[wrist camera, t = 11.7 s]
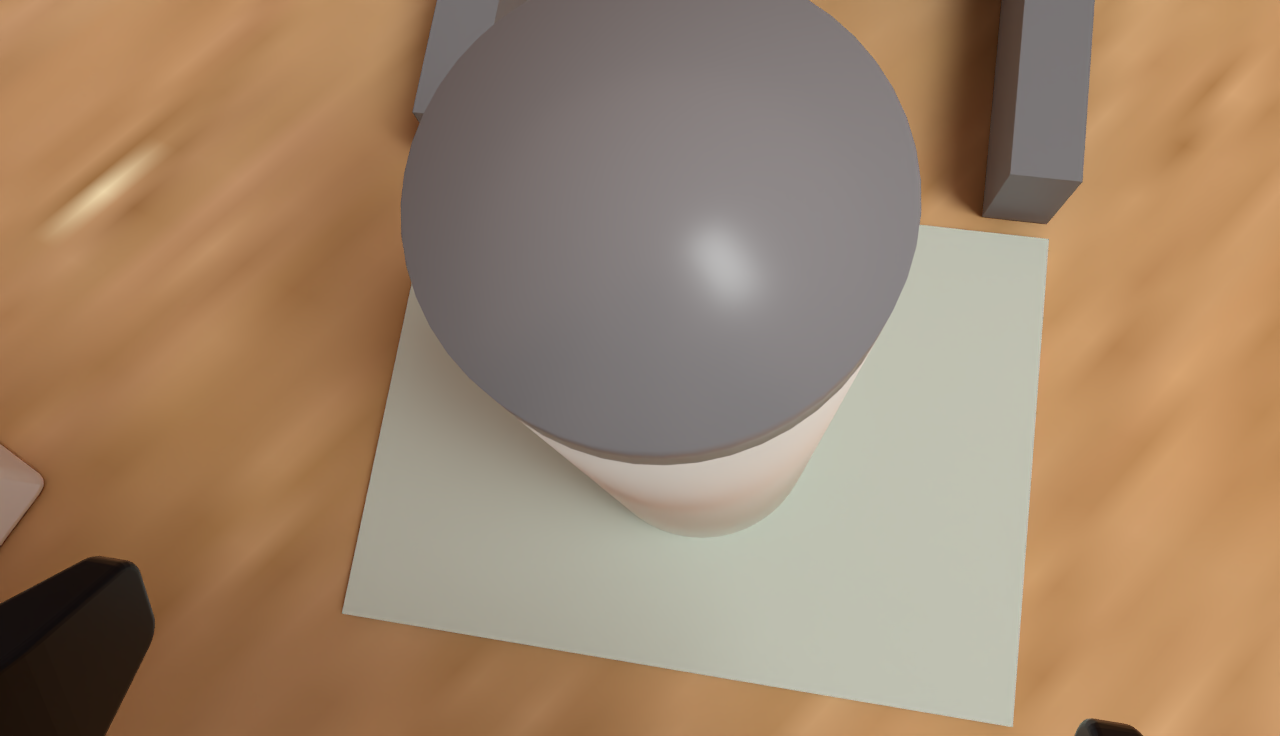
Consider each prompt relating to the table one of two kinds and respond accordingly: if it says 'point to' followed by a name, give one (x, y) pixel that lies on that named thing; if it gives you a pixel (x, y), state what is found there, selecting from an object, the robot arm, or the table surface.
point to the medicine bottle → (15, 490)
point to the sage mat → (767, 551)
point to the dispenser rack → (1021, 109)
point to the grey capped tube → (665, 238)
